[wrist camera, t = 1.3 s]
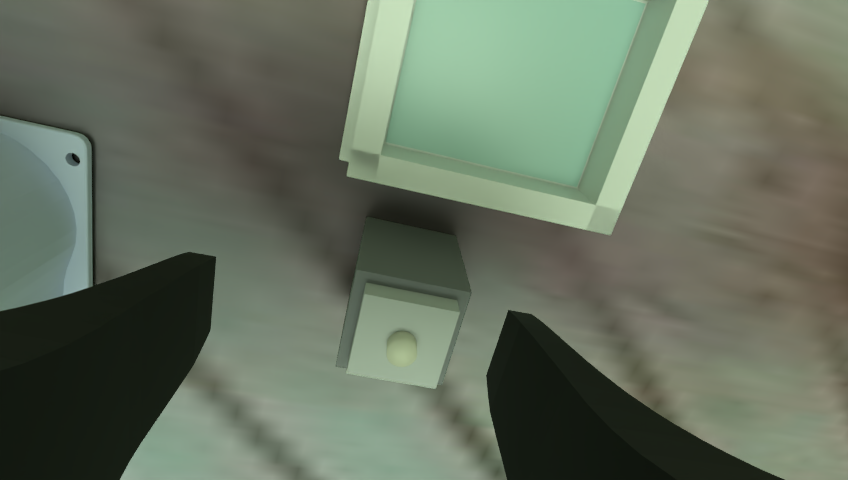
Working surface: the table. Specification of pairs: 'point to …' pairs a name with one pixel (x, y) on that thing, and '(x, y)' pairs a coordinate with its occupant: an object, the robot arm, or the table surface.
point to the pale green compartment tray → (515, 100)
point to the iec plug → (404, 305)
